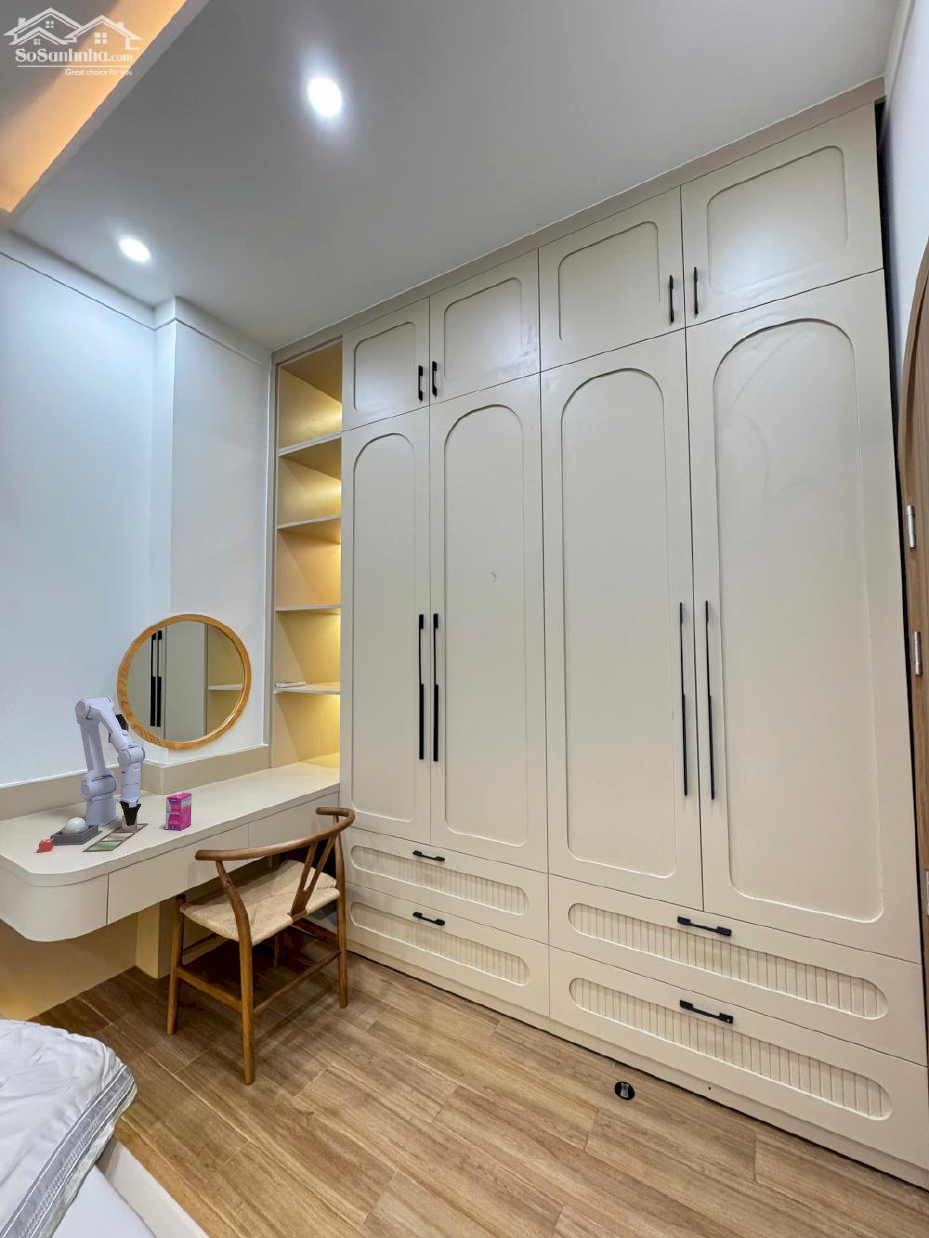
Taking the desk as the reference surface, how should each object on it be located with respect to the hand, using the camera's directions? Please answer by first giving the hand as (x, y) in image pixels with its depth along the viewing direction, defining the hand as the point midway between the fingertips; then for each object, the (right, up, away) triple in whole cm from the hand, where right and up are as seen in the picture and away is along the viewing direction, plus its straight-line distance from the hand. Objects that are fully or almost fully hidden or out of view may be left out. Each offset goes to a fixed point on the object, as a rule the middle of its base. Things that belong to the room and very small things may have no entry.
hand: (129, 823), depth 179 cm
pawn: (0, -2, 0) cm, 2 cm away
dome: (-12, 0, -9) cm, 15 cm away
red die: (-14, -1, -18) cm, 23 cm away
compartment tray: (+1, -2, -7) cm, 8 cm away
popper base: (-12, -2, -9) cm, 15 cm away
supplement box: (+16, -3, +1) cm, 16 cm away
